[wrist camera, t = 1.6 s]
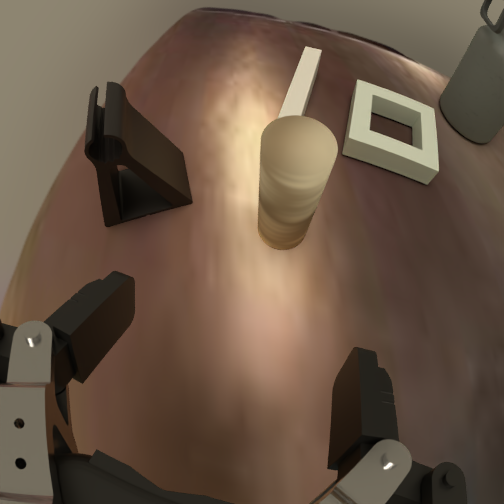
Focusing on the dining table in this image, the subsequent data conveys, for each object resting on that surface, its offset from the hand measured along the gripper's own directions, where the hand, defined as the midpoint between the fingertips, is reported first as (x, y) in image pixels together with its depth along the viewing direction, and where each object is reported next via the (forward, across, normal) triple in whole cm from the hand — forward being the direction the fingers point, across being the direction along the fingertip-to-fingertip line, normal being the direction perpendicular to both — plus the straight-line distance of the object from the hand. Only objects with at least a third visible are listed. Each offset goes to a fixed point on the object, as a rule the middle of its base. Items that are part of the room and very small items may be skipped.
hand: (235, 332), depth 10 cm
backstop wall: (+29, +2, -8) cm, 30 cm away
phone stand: (+19, +14, +3) cm, 23 cm away
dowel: (+18, 0, +3) cm, 19 cm away
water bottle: (+36, -21, -15) cm, 45 cm away
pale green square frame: (+29, -9, -8) cm, 31 cm away
